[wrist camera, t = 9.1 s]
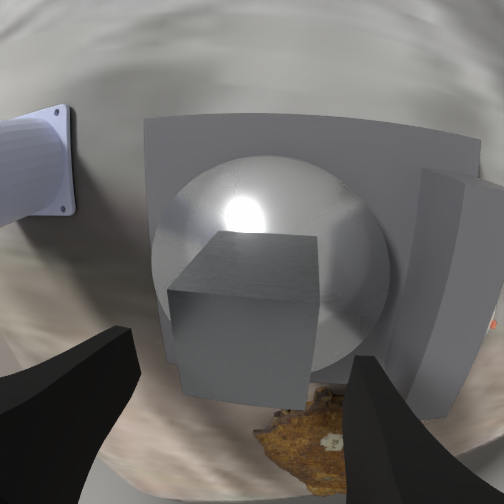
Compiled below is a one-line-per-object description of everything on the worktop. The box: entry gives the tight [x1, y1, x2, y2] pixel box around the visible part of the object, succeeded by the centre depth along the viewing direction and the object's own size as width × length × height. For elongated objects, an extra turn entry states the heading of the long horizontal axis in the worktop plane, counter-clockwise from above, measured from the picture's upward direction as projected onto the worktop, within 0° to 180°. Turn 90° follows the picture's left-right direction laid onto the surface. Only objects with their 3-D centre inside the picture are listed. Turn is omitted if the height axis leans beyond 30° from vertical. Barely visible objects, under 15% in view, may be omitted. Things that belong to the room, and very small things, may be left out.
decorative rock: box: [253, 388, 347, 497], centre depth 23 cm, size 11×4×15 cm
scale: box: [144, 113, 504, 420], centre depth 16 cm, size 18×16×7 cm
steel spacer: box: [167, 231, 320, 410], centre depth 13 cm, size 4×4×6 cm
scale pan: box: [151, 155, 390, 372], centre depth 16 cm, size 12×12×1 cm
